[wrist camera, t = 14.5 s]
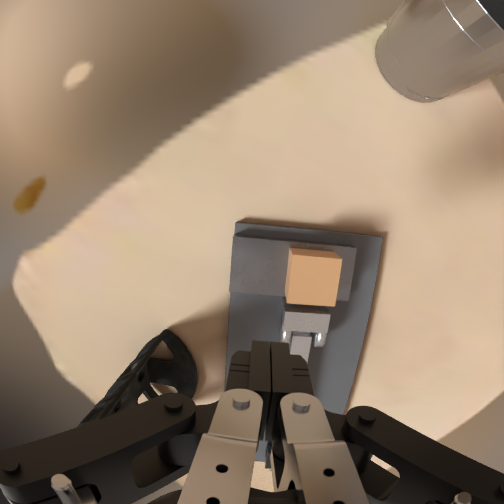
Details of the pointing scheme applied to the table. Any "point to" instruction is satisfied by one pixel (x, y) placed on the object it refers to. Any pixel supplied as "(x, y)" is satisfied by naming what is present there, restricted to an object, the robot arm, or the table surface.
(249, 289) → the base
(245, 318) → the tray
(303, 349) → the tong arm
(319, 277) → the tab
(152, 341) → the holder
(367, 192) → the table surface
